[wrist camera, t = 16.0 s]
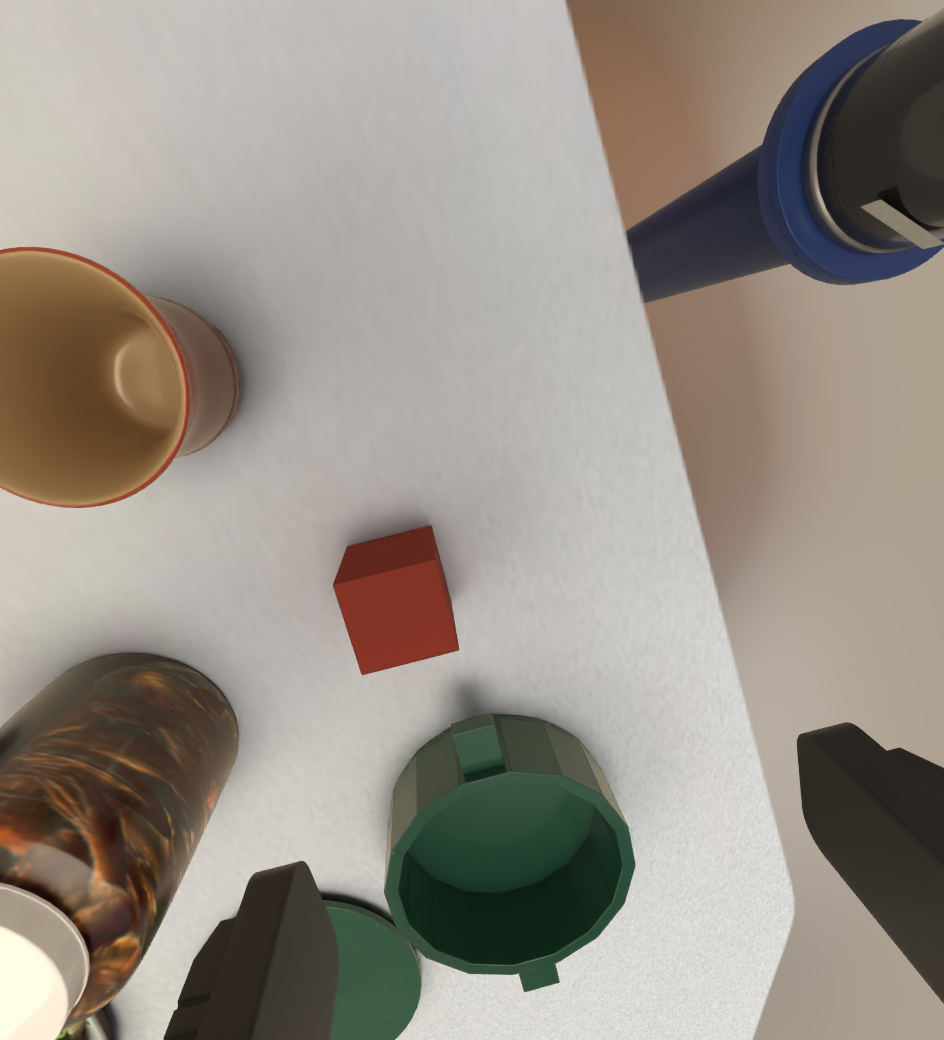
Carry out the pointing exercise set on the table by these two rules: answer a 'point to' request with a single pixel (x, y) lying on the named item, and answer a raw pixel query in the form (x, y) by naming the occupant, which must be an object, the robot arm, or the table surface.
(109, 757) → the jar
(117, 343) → the mug
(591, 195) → the table surface
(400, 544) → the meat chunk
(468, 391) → the table surface
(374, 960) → the pot lid
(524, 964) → the pot
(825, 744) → the robot arm
